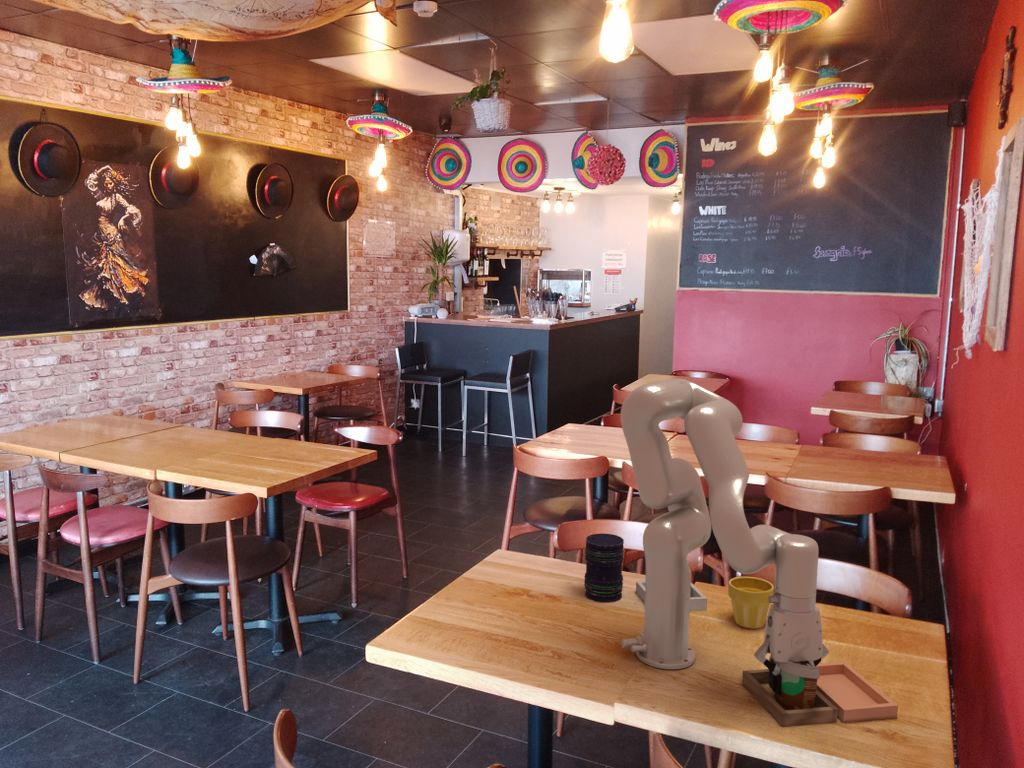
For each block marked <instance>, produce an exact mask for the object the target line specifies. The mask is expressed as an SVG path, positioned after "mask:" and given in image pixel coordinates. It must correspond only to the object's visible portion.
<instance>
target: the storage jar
mask: <svg viewBox="0 0 1024 768" xmlns="http://www.w3.org/2000/svg"><path fill="white" fill-rule="evenodd" d="M624 541H625V540H624V538H623V537H622V536H619V535H617V534H611V533H593V534H590V535H587V536H586V538H585V550H584V553H585V555H584V558H585V562H586V563H585V565H586V566H585V568H586V569H585V573H584V584H583V585H584V596H585V597H586V599H588V600H590V601H592V602H596V603H601V604H602V603H604V604H605V603H606V604H608V603H615V602H618V601H620V600H622V598H623V593H622V592H623V588H624V581H623V580H624V575H623V563H624V556H625V555H624V553H625V551H624V550H625V549H624V543H625V542H624Z"/></svg>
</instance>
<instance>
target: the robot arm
mask: <svg viewBox="0 0 1024 768" xmlns="http://www.w3.org/2000/svg"><path fill="white" fill-rule="evenodd" d="M677 418H680V419H682V420H683V427H684V431H685V433H686V434H685V435H686V436H687V438H688V442H689V443H690V446H691V448H692V450H693V453H694V455H695V458H696V461H698V465H699V467H700V469H701V471H702V474H703V476H704V479H705V480H706V483H707V487H708V505H707V501H706V496H705V492H704V488H703V484H702V480H701V477H700V475H699V472H698V471H697V469H696V468H695V467H694V465H693V464H691V462H689V461H688V460H686V459H683V458H680V457H679V458H678V457H673V458H672V454H671V451H670V444H669V441H668V439H667V436H666V435H665V434H664V432H663V430H662V429H661V428H660V424H661V423H662V422H664V421H669V420H673V419H677ZM620 424H621V429H622V433H623V435H624V438H625V440H626V441H625V442H626V445H627V447H628V452H629V458H630V462H631V466H632V471H633V474H634V478H635V479H634V480H635V484H636V489H637V490H638V491H637V492H638V495H639V498H640V501H642V503H643V505H645V506H646V507H647V508H650V509H652V510H661V509H665V508H667V510H668V511H667V512H665V513H663V514H661V515H658V516H657V517H654V519H652V520H651V521H650V522H648V524H647V525H646V526H645V529H644V531H643V533H642V534H643V535H642V545H643V546H642V547H643V552H644V559H645V560H644V561H645V581H646V582H645V586H646V588H645V603H644V622H643V631H639V636H636V637H635V638H621V647H622V648H623V649H630V651H631V652H632V653H635V655H636V657H637V658H638V659H639V660H640V661H641V662H642V663H644V664H645V665H648V666H650V667H653V668H656V669H661V670H662V669H663V670H681V669H685V668H688V667H690V666H691V665H693V664H694V663H695V659H696V653H695V650H694V648H692V647H691V646H690V645H689V634H690V633H689V632H690V612H691V611H690V598H691V597H690V592H691V583H692V582H691V581H692V579H691V569H690V567H689V563H688V554H690V553H692V552H694V551H695V550H697V549H699V548H702V547H703V546H704V545H706V543H707V542H708V541H709V539H710V537H711V533H712V532H713V535H714V537H715V539H716V542H717V544H718V547H719V549H720V551H721V553H722V556H723V558H724V559H725V561H726V562H727V564H728V565H729V566H730V567H731V569H733V570H734V571H735V572H737V573H739V574H743V575H750V574H755V573H757V572H759V571H761V570H762V569H764V568H765V567H767V566H772V565H774V566H775V568H774V569H775V570H774V585H773V586H774V590H773V595H772V596H768V602H769V603H770V605H769V609H768V612H767V616H766V620H765V628H764V637H763V643H762V644H761V645H760V646H759V647H758V649H757V650H756V651H755V652H754V654H753V656H754V657H755V659H756V660H757V661H759V662H760V663H761V664H763V665H764V667H766V669H769V683H768V686H769V688H770V689H771V690H772V691H773V693H774V692H775V693H776V694H777V695H780V694H781V683H782V676H781V675H780V674H779V672H780V668H778V666H779V663H787V662H788V661H791V662H805V661H809V663H810V664H811V665H812V666H813V667H816V666H817V665H818V664H821V662H822V659H824V658H825V657H826V656H827V655H828V654H830V650H829V649H828V648H827V647H826V646H825V644H824V642H823V624H822V623H823V622H822V617H821V612H820V608H819V607H818V606H817V605H816V603H817V601H816V600H817V587H818V585H817V583H818V582H817V581H818V565H819V545H818V542H817V541H816V540H815V539H814V538H812V537H809V536H807V535H802V534H796V533H795V534H793V533H789V532H787V531H784V530H782V529H779V528H777V527H774V526H771V525H768V524H758V525H755V526H753V527H750V526H749V523H748V521H747V518H746V515H745V510H744V496H745V491H746V489H747V485H748V483H749V478H750V470H749V467H748V465H747V463H746V460H745V458H744V455H743V454H742V452H741V448H740V447H739V444H738V442H737V440H736V438H735V437H737V435H739V433H740V432H741V430H742V428H743V424H744V423H743V416H742V413H741V411H740V410H739V407H737V406H736V405H735V404H734V403H733V402H731V401H730V400H728V399H726V398H725V397H722V396H720V395H719V394H717V393H715V392H712V391H711V390H709V389H707V388H704V387H703V386H701V385H699V384H696V383H695V382H693V381H690V380H688V379H684V378H679V377H677V378H668V379H663V380H655V381H651V382H647V383H644V384H642V385H639V386H637V387H636V388H635V389H633V390H632V391H631V392H630V393H628V395H627V396H626V397H625V399H624V401H623V403H622V406H621V409H620ZM708 508H709V509H708ZM767 654H769V657H768V658H767V657H766V655H767ZM773 659H774V661H776V662H775V665H774V663H773V662H772V661H773Z"/></svg>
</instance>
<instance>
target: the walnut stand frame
mask: <svg viewBox="0 0 1024 768" xmlns="http://www.w3.org/2000/svg"><path fill="white" fill-rule="evenodd" d="M741 683H742V685H744V687H745V688H746V689H747V690H748V691H749V692H750V693H751V695H753V697H755V699H756V700H757V701H758V702H759V703H760V704H761V705H762V706H763V708H764V709H766V711H767V713H769V714H770V715H771V716H772V718H773V719H774V720H775V721H776V722H777V723H778V724H779V725H780V726H781V728H782V727H783V728H784V727H793V726H795V727H797V726H804V725H805V726H807V725H815V724H816V725H817V724H825V723H827V724H829V723H837V722H838V717H837V714H838V709H837V708H836V707H835V706H834V705H833V704H832V703H831V702H830V701H829V700H828V699H826V698H825V697H824V696H823V695H822V694H821V693H820V692H819V691H818V690H817V689H816V694H815V701H814V706H815V707H814V708H809V709H798V710H788V709H785V708H784V707H782V706H781V705H779V704H778V703H777V702H776V700H775V697H773V696H772V695H771V694H770V693H769V692H768V691H767V690H766V689H765V687H763V685H764V684H769V669H768V668H765V669H751V670H749V669H748V670H742V677H741Z"/></svg>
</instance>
